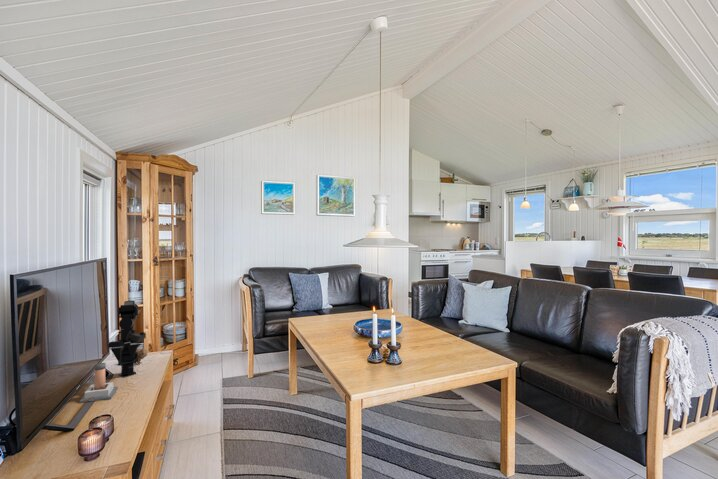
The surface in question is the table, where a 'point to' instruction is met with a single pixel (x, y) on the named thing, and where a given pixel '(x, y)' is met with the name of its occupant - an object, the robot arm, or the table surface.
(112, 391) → the socket block
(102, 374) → the peg
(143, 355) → the lion figurine
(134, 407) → the table surface
